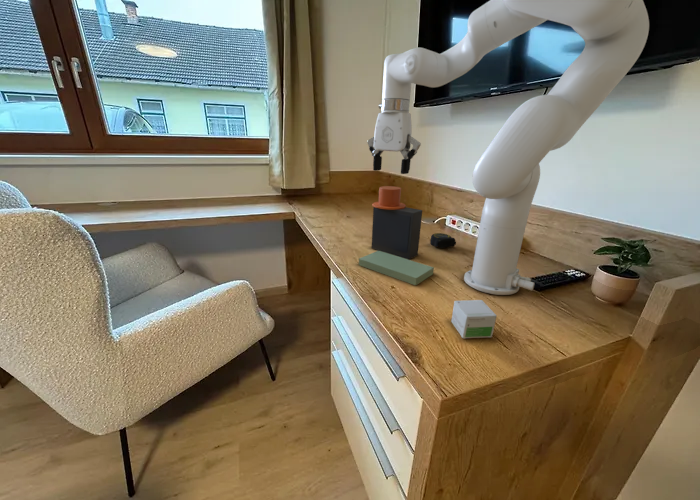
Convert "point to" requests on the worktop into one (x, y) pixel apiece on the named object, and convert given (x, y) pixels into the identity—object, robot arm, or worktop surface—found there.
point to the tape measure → (442, 240)
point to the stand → (396, 267)
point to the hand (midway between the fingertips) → (390, 171)
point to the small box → (473, 319)
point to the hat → (389, 198)
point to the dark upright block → (397, 231)
